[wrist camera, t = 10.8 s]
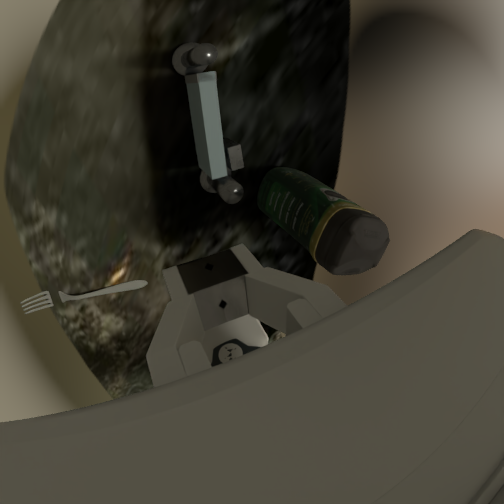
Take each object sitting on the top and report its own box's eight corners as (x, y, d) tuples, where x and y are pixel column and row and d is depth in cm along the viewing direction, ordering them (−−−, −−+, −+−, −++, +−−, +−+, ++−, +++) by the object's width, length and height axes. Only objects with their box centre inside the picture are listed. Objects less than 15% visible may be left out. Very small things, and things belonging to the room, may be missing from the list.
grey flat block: (184, 75, 28) (196, 73, 24) (200, 73, 28) (215, 70, 24) (198, 166, 35) (211, 179, 31) (212, 163, 35) (228, 175, 31)
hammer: (236, 184, 39) (257, 202, 34) (203, 196, 38) (219, 216, 33) (227, 138, 35) (249, 149, 30) (191, 149, 34) (206, 162, 29)
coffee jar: (248, 210, 43) (324, 285, 29) (265, 160, 39) (356, 217, 25) (298, 217, 48) (375, 282, 34) (314, 173, 44) (403, 227, 30)
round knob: (210, 72, 29) (230, 69, 24) (175, 80, 28) (188, 78, 23) (204, 40, 26) (223, 31, 21) (168, 47, 25) (180, 38, 20)
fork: (165, 286, 44) (167, 293, 42) (27, 308, 33) (25, 316, 32) (163, 269, 42) (166, 276, 41) (20, 293, 32) (18, 300, 30)
